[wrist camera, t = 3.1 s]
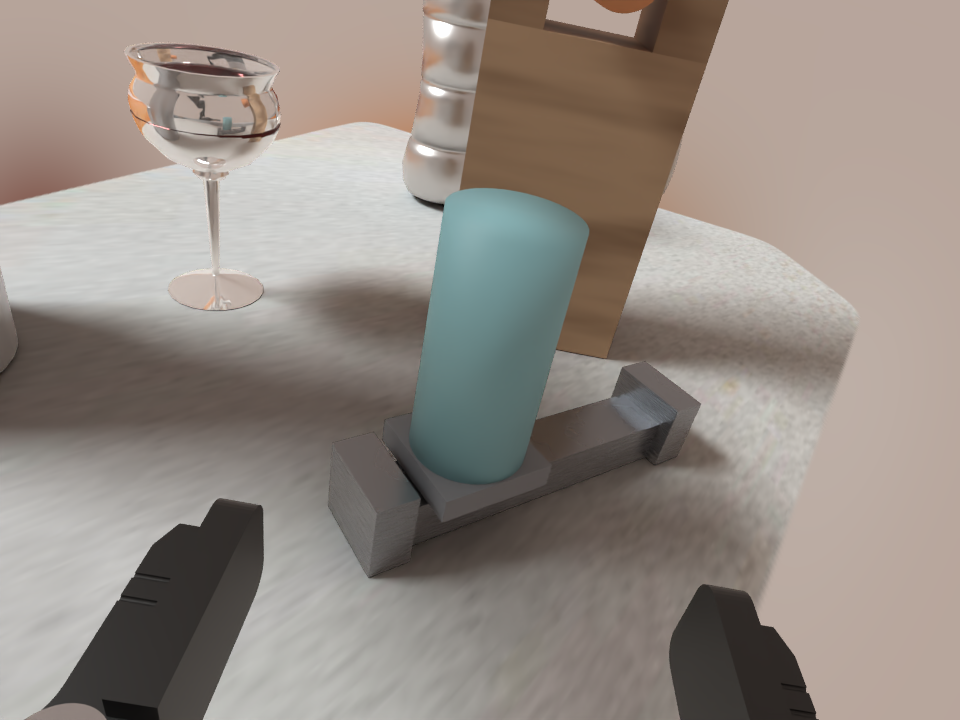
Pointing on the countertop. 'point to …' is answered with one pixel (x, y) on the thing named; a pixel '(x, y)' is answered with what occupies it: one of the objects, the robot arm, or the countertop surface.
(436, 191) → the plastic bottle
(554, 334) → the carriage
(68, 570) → the countertop surface
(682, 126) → the wooden window block
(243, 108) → the wineglass
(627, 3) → the plunger
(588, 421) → the rail
